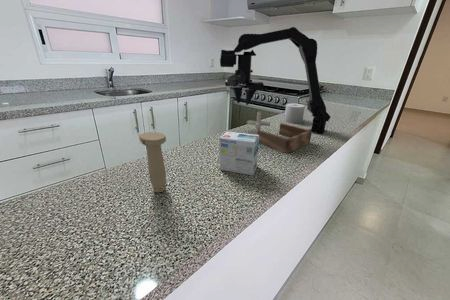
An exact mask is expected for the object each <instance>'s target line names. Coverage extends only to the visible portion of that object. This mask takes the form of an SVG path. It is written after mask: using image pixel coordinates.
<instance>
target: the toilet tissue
mask: <svg viewBox="0 0 450 300" xmlns="http://www.w3.org/2000/svg"><path fill="white" fill-rule="evenodd" d="M305 107H306V105H304V104H301V103H287V104H286V105H285V113H284V120H285V121H286V122H285V121H284V122H285V123H288V122H289V123H288V124H297V125H298V124H302V123H303V120H304V116H305V115H304V114H305V109H306V108H305Z"/></svg>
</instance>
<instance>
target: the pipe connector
mask: <svg viewBox="0 0 450 300" xmlns="http://www.w3.org/2000/svg"><path fill="white" fill-rule="evenodd" d="M246 125H250V126H252V125H253V126H255V135H257V133H258V130H261V126H265V127H266V126H267V127H268V126H269V127H270V126H271V121H262V111H257V113H256V120H247V121H246Z"/></svg>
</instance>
